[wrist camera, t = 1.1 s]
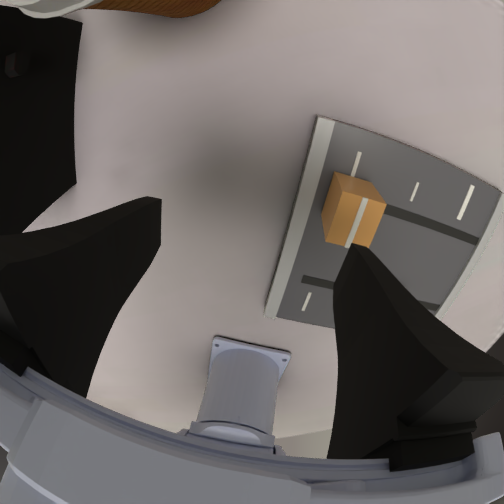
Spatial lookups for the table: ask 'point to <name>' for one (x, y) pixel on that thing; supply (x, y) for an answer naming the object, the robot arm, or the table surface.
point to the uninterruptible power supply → (35, 114)
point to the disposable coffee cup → (113, 6)
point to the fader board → (383, 223)
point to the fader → (351, 211)
